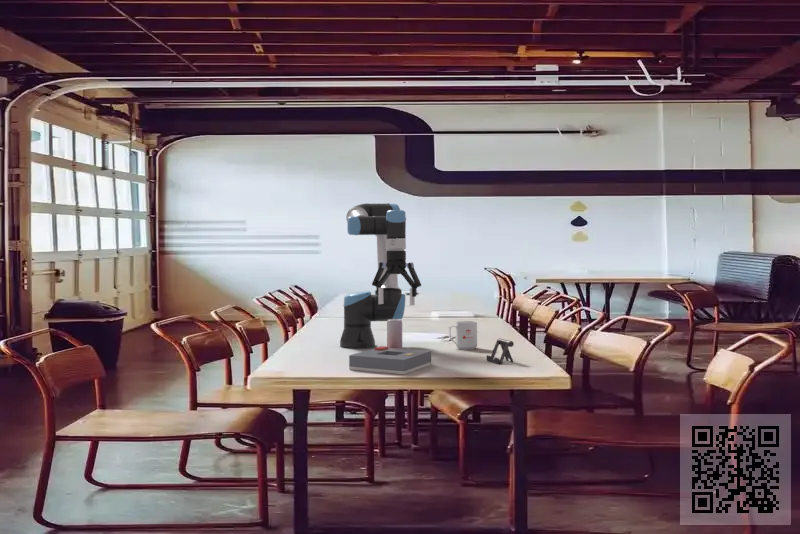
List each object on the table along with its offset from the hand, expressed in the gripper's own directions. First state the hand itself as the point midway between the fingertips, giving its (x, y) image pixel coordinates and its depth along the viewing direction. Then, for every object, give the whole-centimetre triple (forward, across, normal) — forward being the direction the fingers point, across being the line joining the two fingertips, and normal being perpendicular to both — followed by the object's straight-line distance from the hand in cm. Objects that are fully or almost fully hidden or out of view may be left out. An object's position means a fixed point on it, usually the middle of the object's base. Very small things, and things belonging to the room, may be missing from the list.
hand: (396, 304), depth 292 cm
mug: (+21, +14, +34) cm, 43 cm away
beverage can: (+21, 0, -1) cm, 21 cm away
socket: (+21, +7, -19) cm, 29 cm away
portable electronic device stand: (+21, +40, +8) cm, 46 cm away
